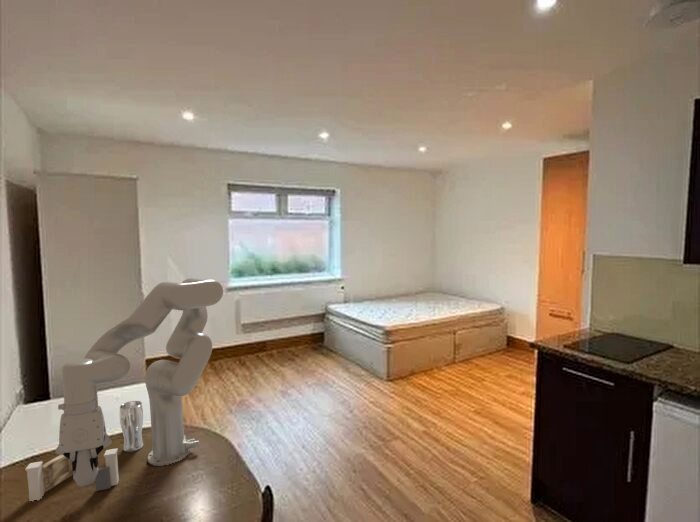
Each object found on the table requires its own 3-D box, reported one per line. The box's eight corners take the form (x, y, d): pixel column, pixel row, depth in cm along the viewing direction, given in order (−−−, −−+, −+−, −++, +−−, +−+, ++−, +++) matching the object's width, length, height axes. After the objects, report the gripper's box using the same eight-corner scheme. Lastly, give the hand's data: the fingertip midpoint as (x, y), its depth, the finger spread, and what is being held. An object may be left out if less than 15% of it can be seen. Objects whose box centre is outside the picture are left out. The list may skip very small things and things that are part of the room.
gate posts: (119, 479, 122) (117, 448, 121) (116, 487, 118) (114, 455, 117) (32, 495, 115) (29, 463, 114) (26, 505, 111) (23, 471, 110)
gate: (47, 491, 115) (44, 467, 115) (42, 490, 116) (40, 466, 115) (93, 461, 130) (92, 440, 129) (89, 461, 130) (87, 439, 130)
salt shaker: (68, 487, 110) (65, 440, 109) (86, 474, 115) (83, 430, 114) (86, 489, 109) (83, 442, 108) (103, 476, 114) (101, 431, 113)
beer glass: (129, 455, 135) (126, 411, 133) (117, 449, 138) (114, 406, 137) (149, 445, 141) (146, 403, 139) (137, 440, 144) (134, 398, 143)
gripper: (40, 416, 104) (45, 485, 106) (112, 406, 110) (116, 472, 111) (50, 405, 111) (55, 469, 113) (118, 396, 117) (122, 458, 118)
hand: (85, 470), depth 112 cm, fingers closed on salt shaker, 3 cm apart
